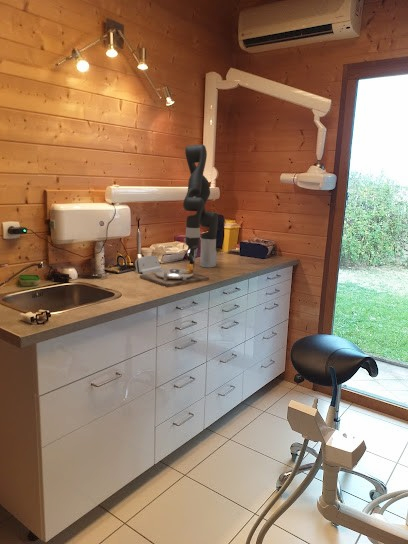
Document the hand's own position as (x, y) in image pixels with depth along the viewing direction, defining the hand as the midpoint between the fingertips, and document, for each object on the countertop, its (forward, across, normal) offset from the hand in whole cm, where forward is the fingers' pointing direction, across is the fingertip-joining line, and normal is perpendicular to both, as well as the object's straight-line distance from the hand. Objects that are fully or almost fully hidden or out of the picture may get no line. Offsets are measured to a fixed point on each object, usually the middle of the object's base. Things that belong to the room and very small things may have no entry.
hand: (191, 267), depth 226 cm
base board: (+6, +5, -8) cm, 11 cm away
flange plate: (+3, +6, -7) cm, 10 cm away
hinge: (+7, -5, -28) cm, 30 cm away
